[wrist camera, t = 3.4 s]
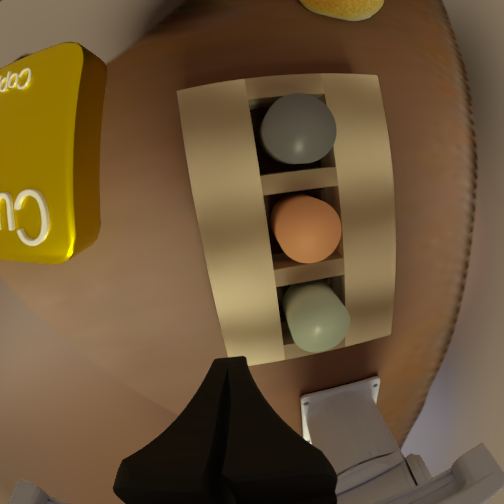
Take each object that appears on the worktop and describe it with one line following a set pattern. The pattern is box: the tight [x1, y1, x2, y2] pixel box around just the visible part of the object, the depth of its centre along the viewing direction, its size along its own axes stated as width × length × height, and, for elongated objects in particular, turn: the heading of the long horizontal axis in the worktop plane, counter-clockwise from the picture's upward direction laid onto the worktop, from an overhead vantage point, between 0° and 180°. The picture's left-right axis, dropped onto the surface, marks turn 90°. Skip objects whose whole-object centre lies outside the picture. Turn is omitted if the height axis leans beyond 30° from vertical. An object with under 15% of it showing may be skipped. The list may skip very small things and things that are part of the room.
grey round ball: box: [259, 93, 337, 164], centre depth 14 cm, size 4×4×4 cm
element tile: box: [0, 42, 107, 264], centre depth 14 cm, size 15×15×5 cm
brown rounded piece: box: [270, 193, 341, 263], centre depth 17 cm, size 4×4×4 cm
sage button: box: [282, 279, 350, 352], centre depth 18 cm, size 4×4×4 cm
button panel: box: [177, 73, 396, 366], centre depth 18 cm, size 18×12×3 cm, turn 9°
